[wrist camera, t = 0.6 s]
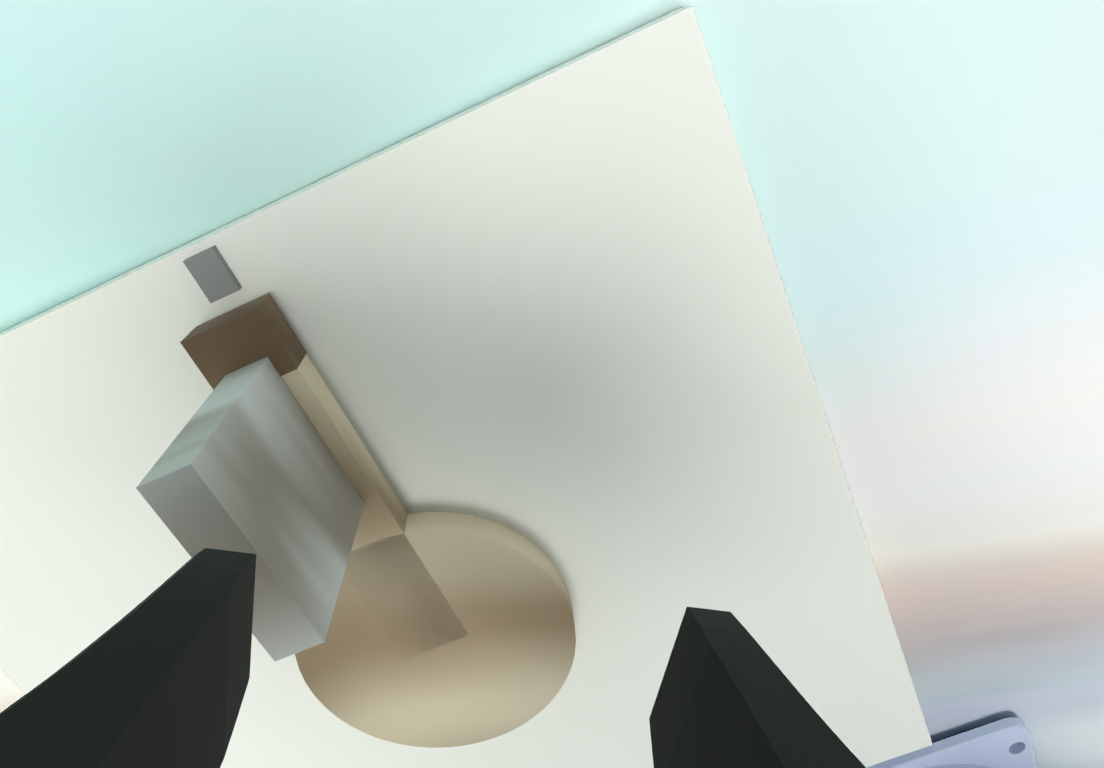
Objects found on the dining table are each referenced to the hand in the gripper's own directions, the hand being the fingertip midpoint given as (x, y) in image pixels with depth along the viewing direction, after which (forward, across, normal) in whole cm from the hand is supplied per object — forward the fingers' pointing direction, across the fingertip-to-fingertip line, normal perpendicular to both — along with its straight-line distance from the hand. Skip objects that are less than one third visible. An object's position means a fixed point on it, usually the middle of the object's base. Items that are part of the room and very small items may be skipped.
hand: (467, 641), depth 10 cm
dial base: (+9, 0, +7) cm, 12 cm away
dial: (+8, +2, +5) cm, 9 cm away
